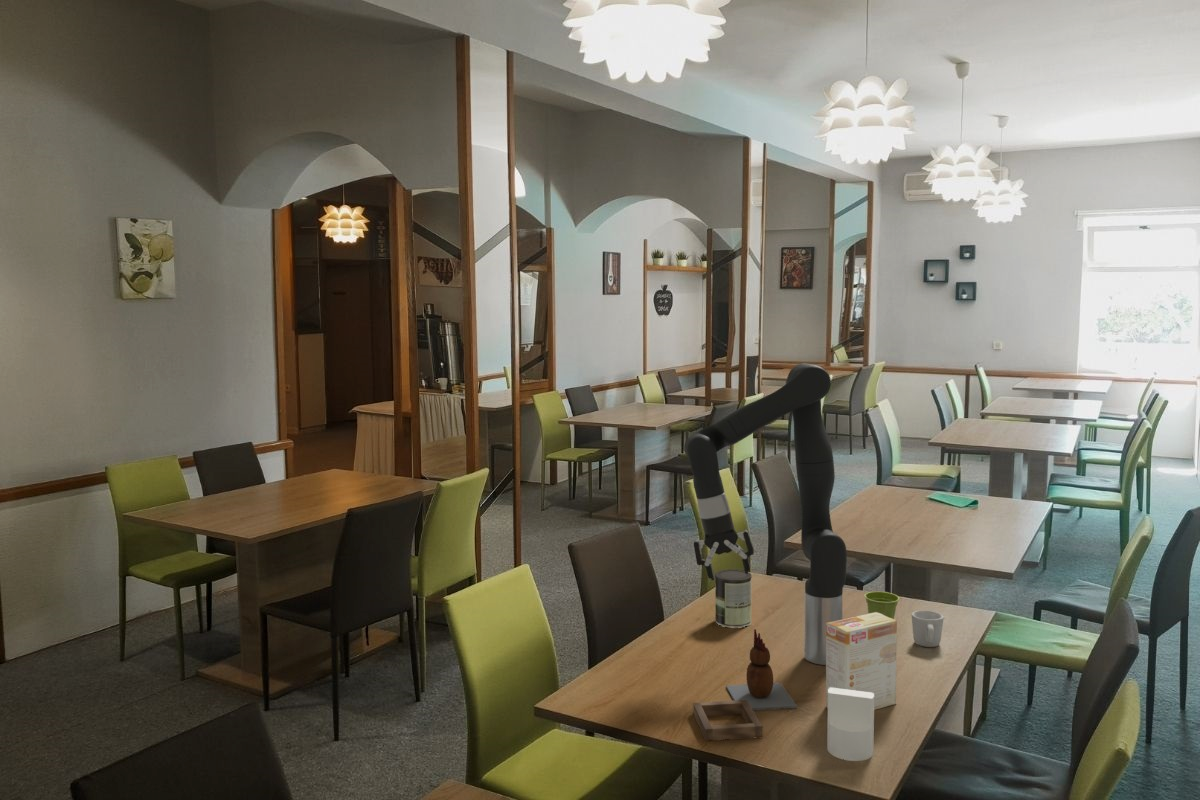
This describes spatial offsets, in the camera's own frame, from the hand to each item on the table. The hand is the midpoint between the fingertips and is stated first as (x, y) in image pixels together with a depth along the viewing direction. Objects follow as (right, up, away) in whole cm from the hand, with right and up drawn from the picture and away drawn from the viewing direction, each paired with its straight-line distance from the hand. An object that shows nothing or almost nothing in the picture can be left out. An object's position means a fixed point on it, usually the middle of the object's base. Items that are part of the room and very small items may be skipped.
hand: (730, 576), depth 227 cm
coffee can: (+6, -20, +34) cm, 40 cm away
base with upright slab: (+18, -27, -42) cm, 53 cm away
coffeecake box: (+26, -25, -22) cm, 42 cm away
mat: (+5, -25, -17) cm, 30 cm away
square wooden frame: (-5, -26, -31) cm, 41 cm away
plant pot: (+46, -20, +29) cm, 58 cm away
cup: (+54, -21, +14) cm, 60 cm away
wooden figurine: (+4, -24, -17) cm, 30 cm away
